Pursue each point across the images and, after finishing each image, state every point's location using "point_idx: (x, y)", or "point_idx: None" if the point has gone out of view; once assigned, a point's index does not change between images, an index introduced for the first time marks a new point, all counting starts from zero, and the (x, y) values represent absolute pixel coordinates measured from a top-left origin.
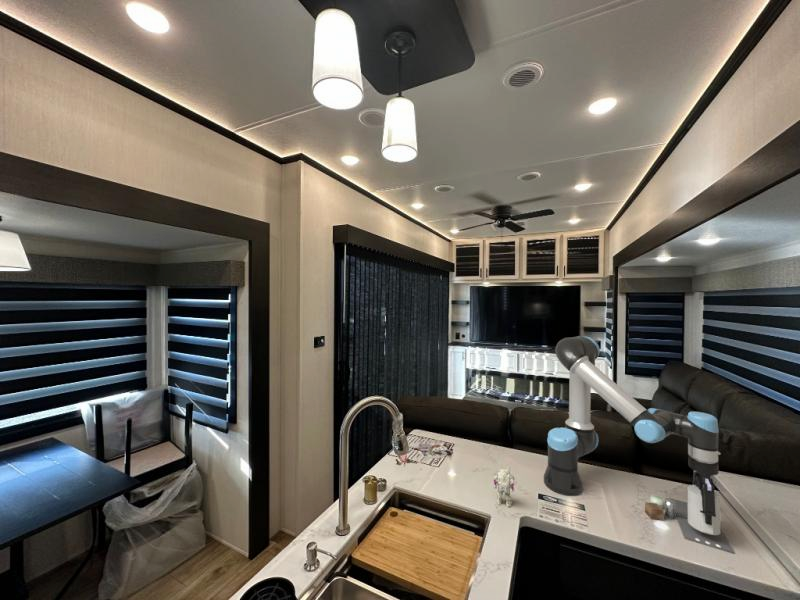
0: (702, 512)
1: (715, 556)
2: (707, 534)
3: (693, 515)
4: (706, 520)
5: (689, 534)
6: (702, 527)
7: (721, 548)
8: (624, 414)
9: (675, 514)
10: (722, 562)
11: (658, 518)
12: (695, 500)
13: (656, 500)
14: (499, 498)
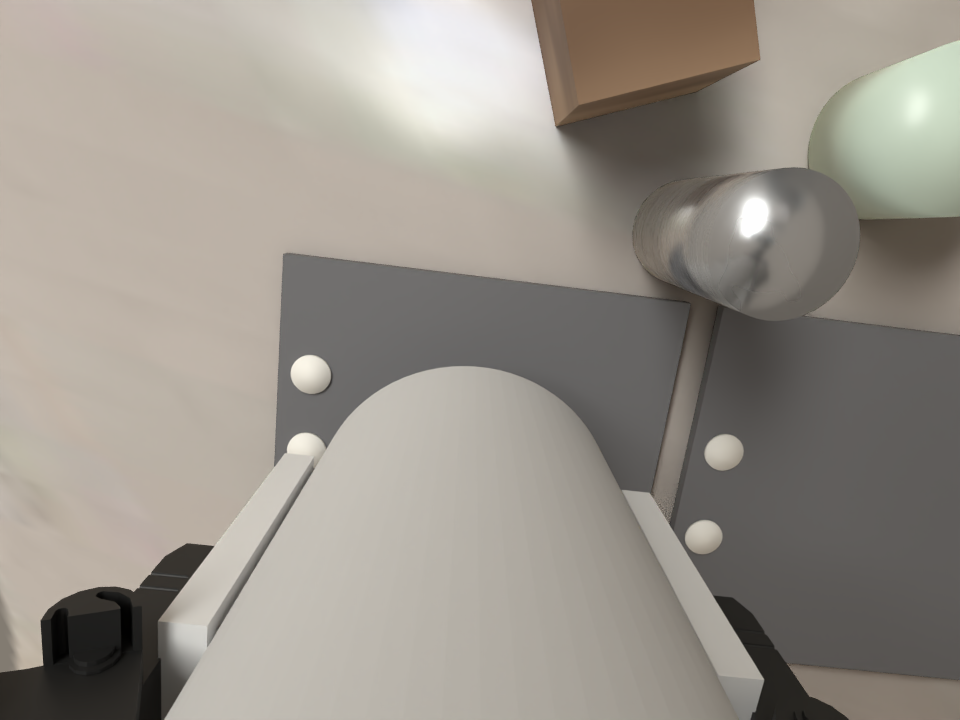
0: (58, 624)
1: (136, 440)
2: None
3: (350, 452)
4: (145, 585)
5: (372, 324)
6: (270, 477)
7: None
8: None
9: None
10: (75, 464)
11: (545, 57)
12: (207, 687)
13: (900, 107)
14: None
